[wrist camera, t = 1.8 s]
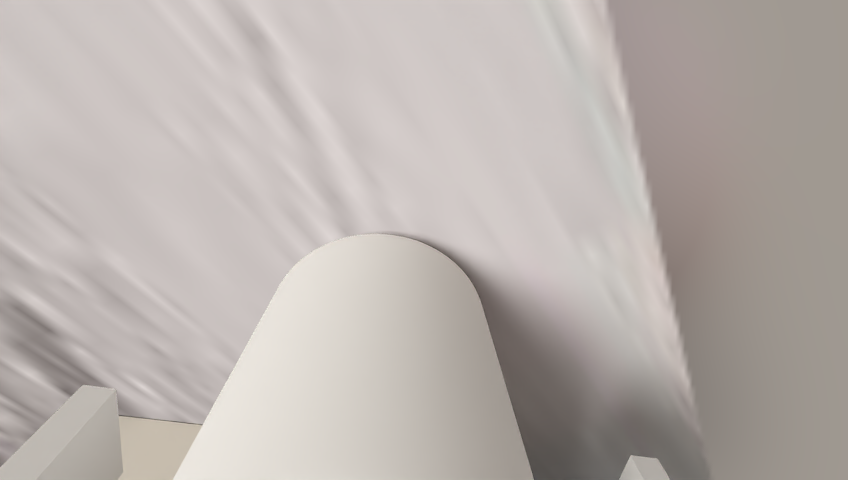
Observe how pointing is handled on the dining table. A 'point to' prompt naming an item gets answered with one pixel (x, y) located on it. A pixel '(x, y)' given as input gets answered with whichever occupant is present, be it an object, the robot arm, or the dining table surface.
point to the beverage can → (365, 377)
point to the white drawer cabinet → (154, 447)
